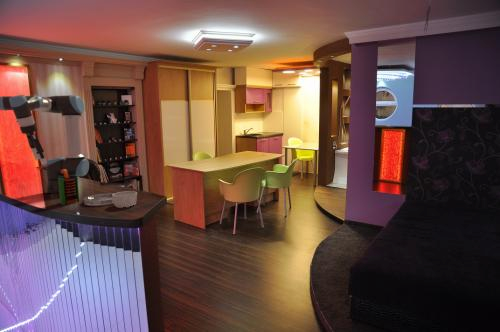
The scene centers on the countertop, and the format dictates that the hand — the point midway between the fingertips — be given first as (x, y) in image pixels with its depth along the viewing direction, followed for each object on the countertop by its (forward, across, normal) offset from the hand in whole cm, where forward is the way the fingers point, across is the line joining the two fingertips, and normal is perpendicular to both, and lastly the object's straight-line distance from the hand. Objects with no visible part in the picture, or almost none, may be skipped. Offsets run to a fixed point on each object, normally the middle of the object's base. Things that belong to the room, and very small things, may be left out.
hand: (41, 161), depth 190 cm
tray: (+30, +15, +20) cm, 39 cm away
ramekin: (+30, +34, +26) cm, 52 cm away
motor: (+28, +3, +6) cm, 29 cm away
